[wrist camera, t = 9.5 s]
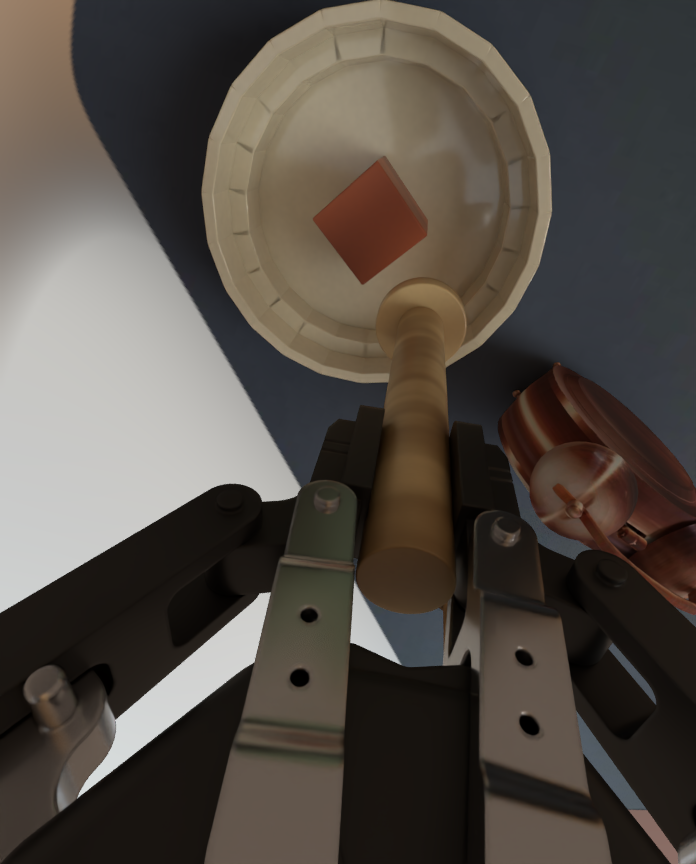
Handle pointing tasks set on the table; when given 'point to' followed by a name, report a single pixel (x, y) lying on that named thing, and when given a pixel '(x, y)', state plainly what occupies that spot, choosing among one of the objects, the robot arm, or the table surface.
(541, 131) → the bowl
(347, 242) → the block
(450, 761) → the robot arm
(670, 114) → the table surface
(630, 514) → the alarm clock
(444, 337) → the stick
